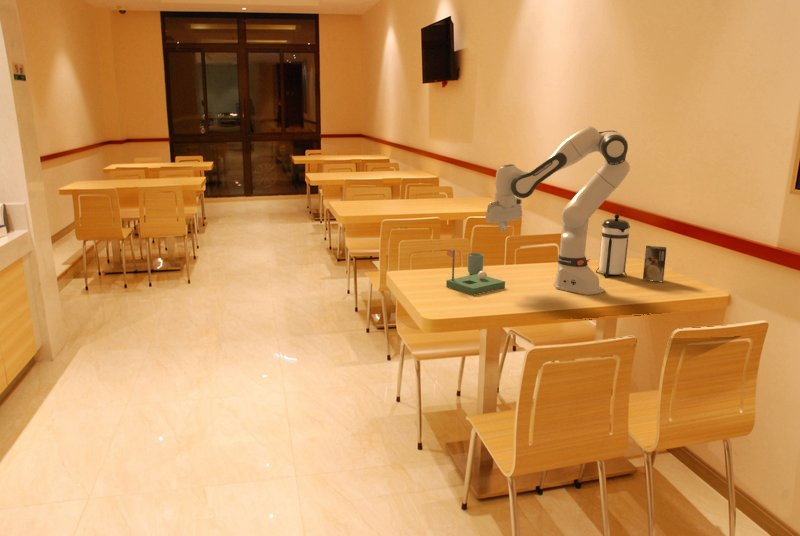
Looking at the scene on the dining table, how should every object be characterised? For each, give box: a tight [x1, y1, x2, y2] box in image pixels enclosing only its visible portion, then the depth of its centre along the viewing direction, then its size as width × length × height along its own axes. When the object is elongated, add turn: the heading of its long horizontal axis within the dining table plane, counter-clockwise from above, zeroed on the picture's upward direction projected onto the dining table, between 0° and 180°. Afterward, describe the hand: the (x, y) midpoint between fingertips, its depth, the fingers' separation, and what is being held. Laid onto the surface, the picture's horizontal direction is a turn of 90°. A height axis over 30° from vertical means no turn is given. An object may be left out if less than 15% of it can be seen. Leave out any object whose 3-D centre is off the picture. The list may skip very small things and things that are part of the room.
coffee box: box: [642, 245, 667, 282], centre depth 292 cm, size 9×6×16 cm
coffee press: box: [595, 214, 631, 279], centre depth 301 cm, size 17×16×30 cm
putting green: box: [445, 248, 506, 296], centre depth 277 cm, size 19×20×17 cm
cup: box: [466, 252, 485, 275], centre depth 299 cm, size 8×8×10 cm
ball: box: [478, 270, 487, 280], centre depth 279 cm, size 4×4×4 cm
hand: (502, 230), depth 282 cm, fingers closed
